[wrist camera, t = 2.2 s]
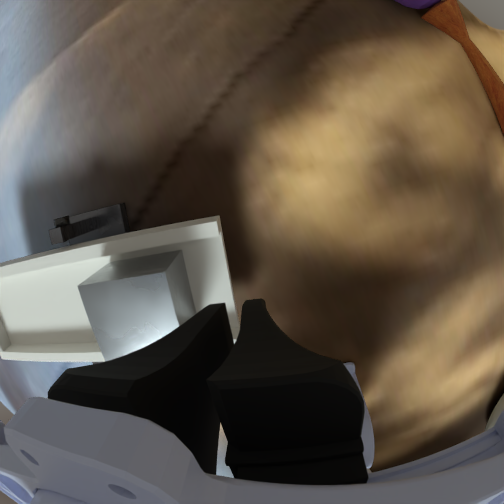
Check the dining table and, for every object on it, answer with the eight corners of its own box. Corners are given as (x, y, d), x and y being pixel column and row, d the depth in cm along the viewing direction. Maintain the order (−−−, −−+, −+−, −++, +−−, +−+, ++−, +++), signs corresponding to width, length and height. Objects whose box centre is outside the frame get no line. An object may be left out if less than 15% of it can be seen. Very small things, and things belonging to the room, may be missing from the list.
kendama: (524, 166, 14) (366, -51, 10) (487, 154, 19) (354, -21, 15) (555, 133, 12) (413, -69, 7) (518, 125, 17) (395, -41, 13)
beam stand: (124, 201, 21) (84, 211, 16) (160, 341, 24) (136, 378, 19) (69, 215, 22) (27, 228, 16) (106, 341, 25) (77, 373, 19)
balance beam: (219, 215, 18) (216, 221, 16) (240, 328, 20) (241, 349, 18) (-12, 266, 18) (-31, 275, 15) (16, 345, 20) (2, 359, 17)
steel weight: (181, 249, 17) (164, 271, 13) (199, 323, 19) (190, 362, 14) (109, 262, 17) (77, 285, 13) (130, 330, 19) (107, 367, 14)
